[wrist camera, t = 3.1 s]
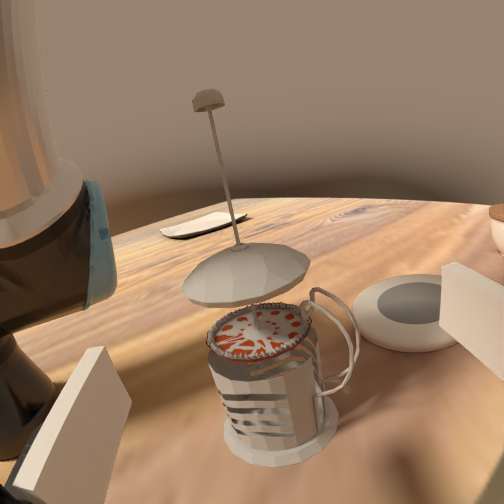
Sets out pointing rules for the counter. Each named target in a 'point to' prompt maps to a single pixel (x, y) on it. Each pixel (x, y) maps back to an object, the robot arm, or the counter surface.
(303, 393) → the french press
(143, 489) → the counter surface
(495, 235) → the lidded jar
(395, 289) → the disc
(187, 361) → the counter surface
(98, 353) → the robot arm
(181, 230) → the plate
